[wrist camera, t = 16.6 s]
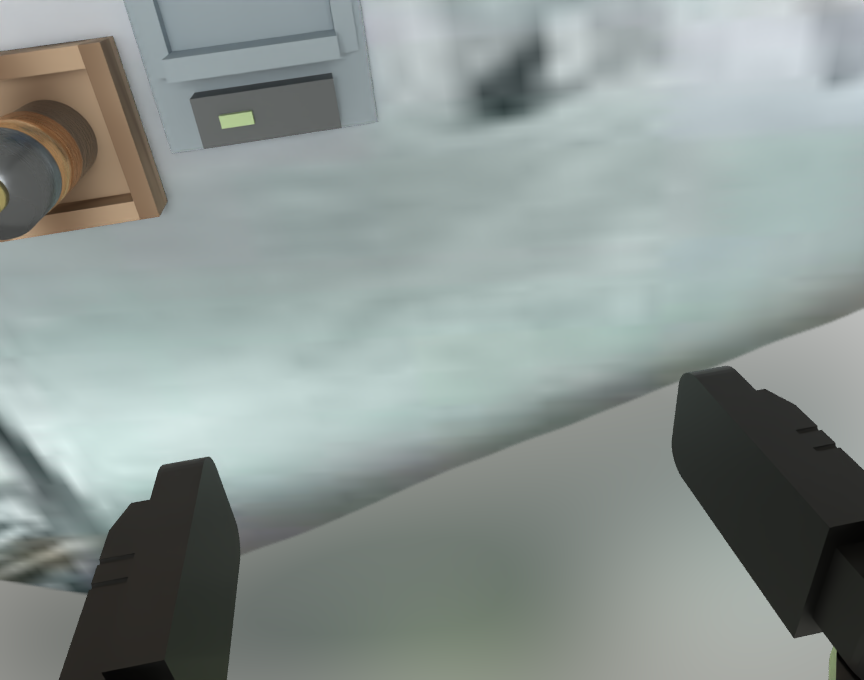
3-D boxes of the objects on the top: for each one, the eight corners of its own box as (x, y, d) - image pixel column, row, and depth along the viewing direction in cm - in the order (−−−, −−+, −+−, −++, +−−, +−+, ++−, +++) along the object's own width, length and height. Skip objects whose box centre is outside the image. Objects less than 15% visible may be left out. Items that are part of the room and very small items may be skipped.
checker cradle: (336, -149, 30) (340, -162, 27) (376, 118, 37) (383, 135, 33) (90, -121, 29) (63, -130, 26) (174, 148, 36) (161, 169, 32)
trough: (112, 36, 32) (99, 42, 30) (167, 201, 37) (159, 216, 35) (-68, 60, 32) (-95, 68, 30) (10, 226, 36) (-8, 243, 34)
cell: (80, 92, 33) (13, 136, 25) (110, 173, 35) (56, 236, 27) (-5, 105, 32) (-101, 153, 25) (30, 186, 35) (-48, 253, 27)
